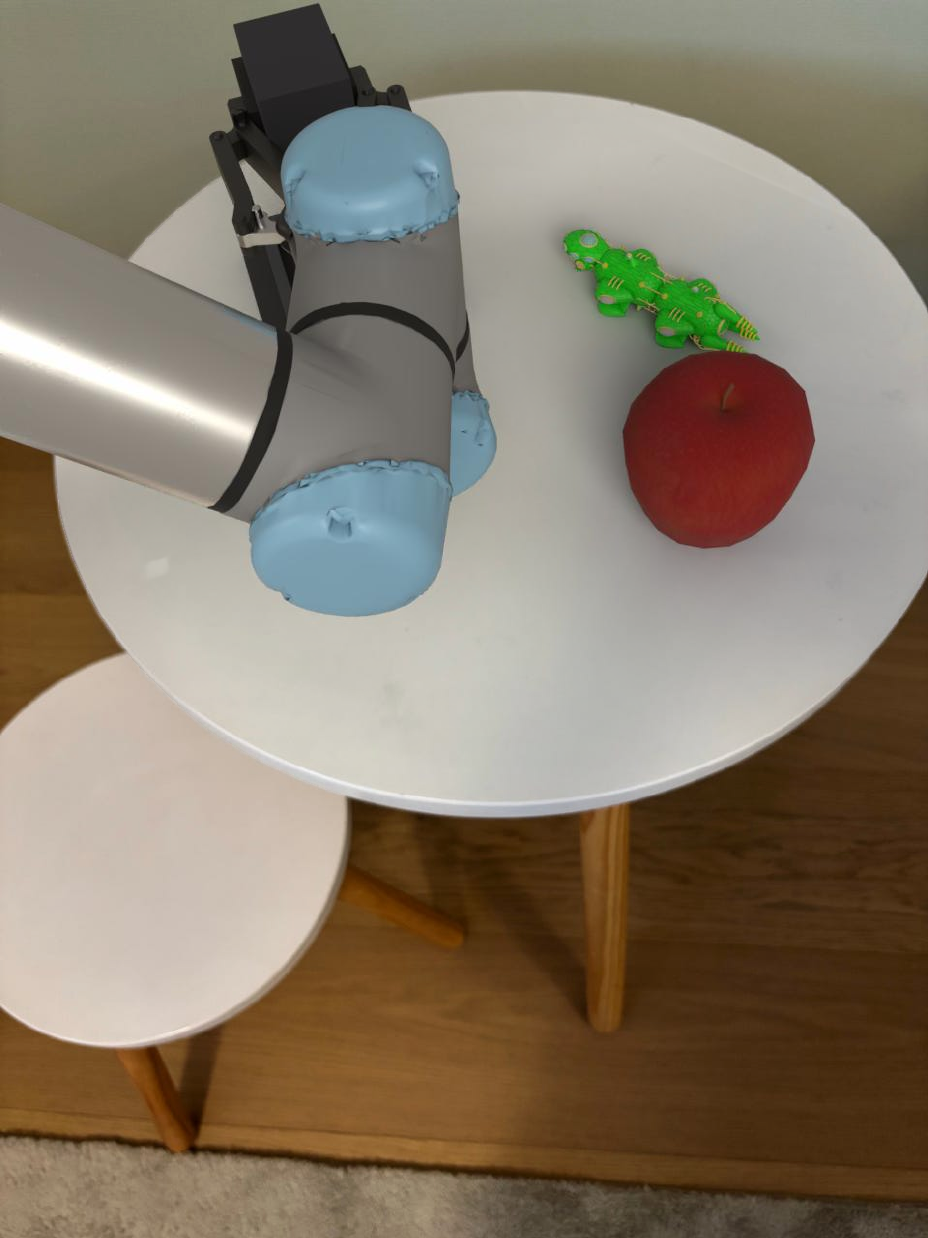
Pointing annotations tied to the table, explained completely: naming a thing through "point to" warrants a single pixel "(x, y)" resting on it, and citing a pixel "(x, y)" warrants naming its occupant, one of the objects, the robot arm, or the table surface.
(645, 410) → the apple
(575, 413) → the table surface
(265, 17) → the pad block
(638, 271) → the crocodile figurine
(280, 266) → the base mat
